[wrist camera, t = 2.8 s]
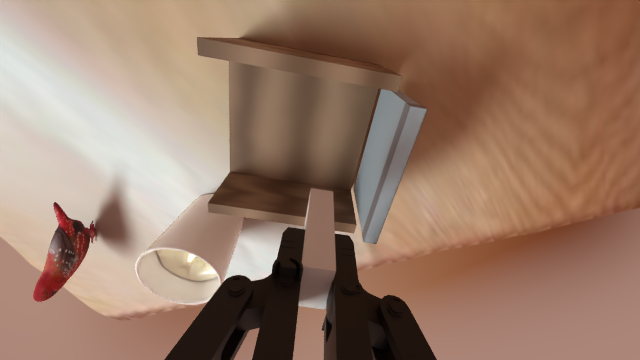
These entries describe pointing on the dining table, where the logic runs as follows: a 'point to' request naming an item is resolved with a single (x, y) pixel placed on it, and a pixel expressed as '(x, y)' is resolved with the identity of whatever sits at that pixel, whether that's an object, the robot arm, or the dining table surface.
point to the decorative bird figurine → (63, 254)
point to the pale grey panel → (385, 158)
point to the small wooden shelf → (293, 128)
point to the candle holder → (190, 255)
